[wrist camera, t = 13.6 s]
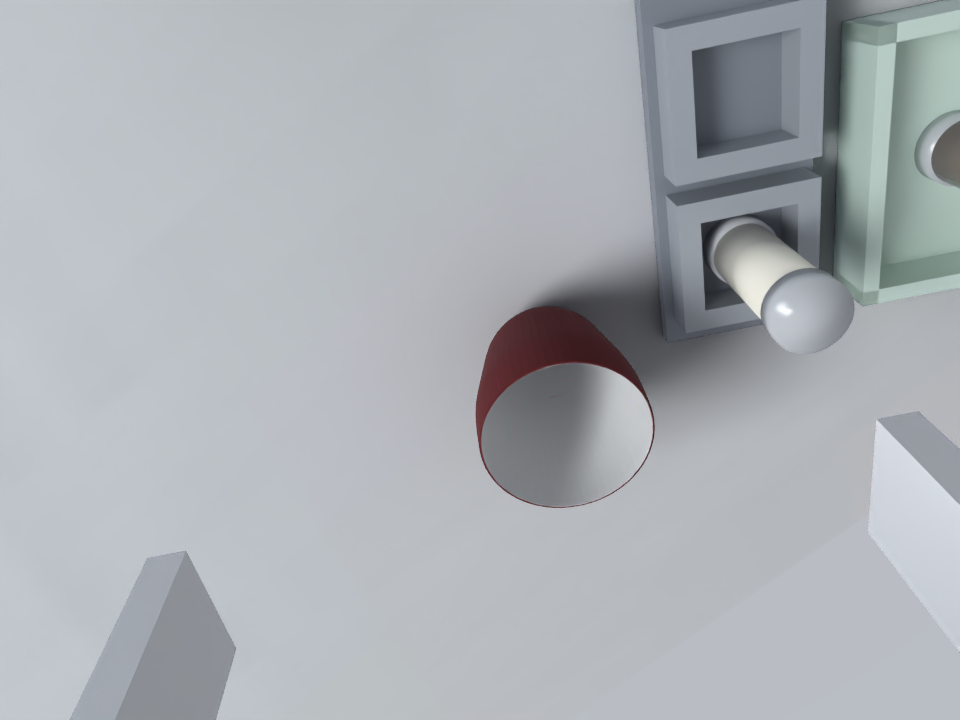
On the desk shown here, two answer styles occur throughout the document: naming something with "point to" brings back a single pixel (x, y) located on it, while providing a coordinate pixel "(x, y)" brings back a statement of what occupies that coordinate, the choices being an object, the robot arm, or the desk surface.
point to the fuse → (779, 285)
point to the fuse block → (729, 139)
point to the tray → (895, 154)
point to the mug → (560, 411)
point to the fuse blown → (940, 150)
